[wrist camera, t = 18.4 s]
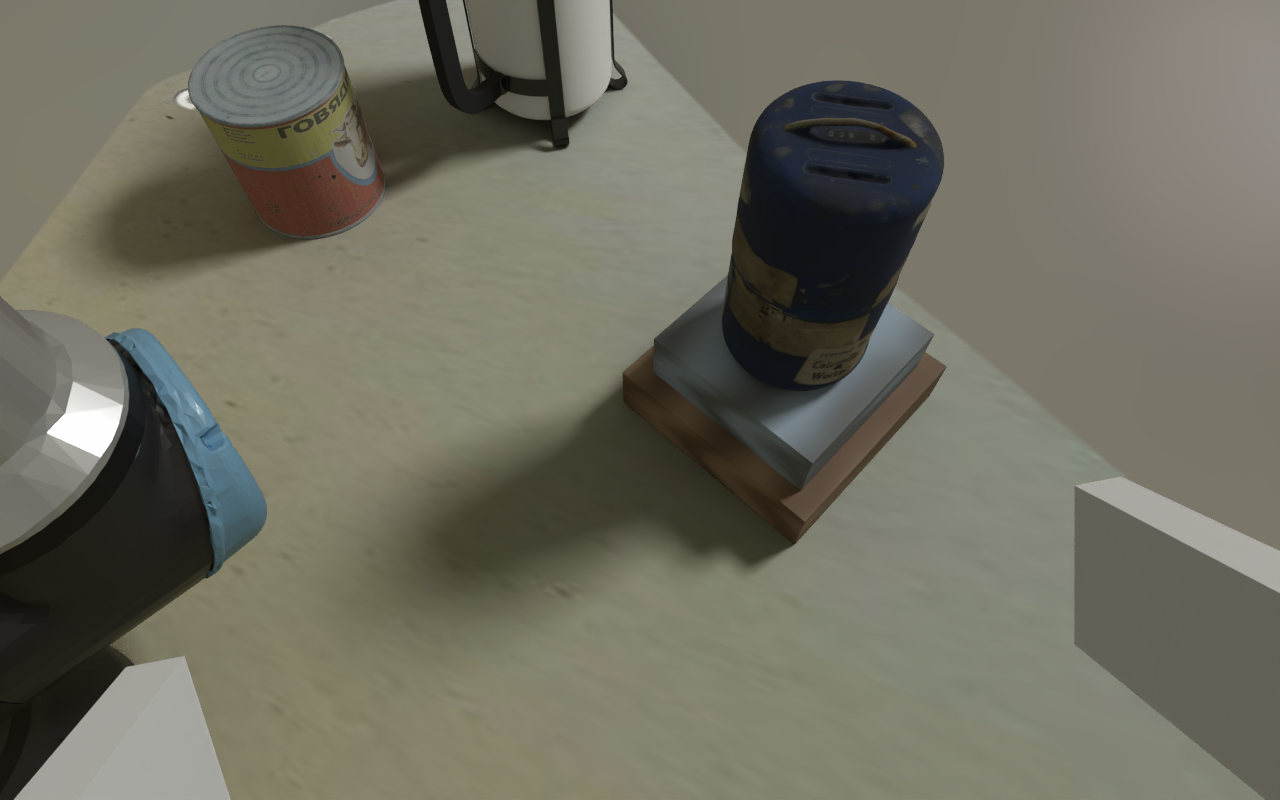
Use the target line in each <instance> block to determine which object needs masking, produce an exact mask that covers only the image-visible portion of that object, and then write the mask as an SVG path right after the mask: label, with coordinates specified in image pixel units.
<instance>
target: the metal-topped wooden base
mask: <svg viewBox="0 0 1280 800" xmlns="http://www.w3.org/2000/svg"><path fill="white" fill-rule="evenodd" d="M727 279H728V275H727V276H726V277H725V278H724V279H723V280H722V281H721V282H719V283H718V284H717V285H716V286H715V287H714V288H712V289H711V290H710V291H709V292H708V293H707V294H706V295H704V296H703V297H702V298H701V299H700V300H699V301H697V302H696V303H695V304H694V305H693V306H692V307H691V308H689V309H688V310H687V311H686V312H685V313H684V314H682V315H681V316H680V317H679V318H678V319H677V320H676V321H674V322H673V323H672V324H671V325H670V326H669V327H667V328H666V329H665V330H664V331H663V332H662V333H661V334H659V335H658V336H657V337H656V338H655V339H654V346H653V347H651V348H650V349H649V350H648V351H647V352H646V353H645V354H643V355H642V356H641V357H640V358H639V359H638V360H637V361H635V362H634V363H633V364H632V365H631V366H630V367H628V368H627V369H626V370H625V371H624V372H623V394H624V402H625V403H626V404H627V405H629V406H630V407H631V408H632V409H633V410H634V411H636V412H637V413H638V414H639V415H640V416H642V417H643V418H644V419H645V420H646V421H648V422H649V423H650V424H651V425H652V426H654V427H655V428H656V429H657V430H658V431H660V432H661V433H662V434H663V435H664V436H666V437H667V438H668V439H669V440H670V441H672V442H673V443H674V444H675V445H676V446H678V447H679V448H680V449H681V450H682V451H684V452H685V453H686V454H687V455H688V456H690V457H691V458H692V459H693V460H694V461H695V462H697V463H698V464H699V465H700V466H701V467H703V468H704V469H705V470H706V471H707V472H709V473H710V474H711V475H712V476H713V477H715V478H716V479H717V480H718V481H719V482H721V483H722V484H723V485H724V486H725V487H727V488H728V489H729V490H730V491H731V492H733V493H734V494H735V495H736V496H737V497H739V498H740V499H741V500H742V501H743V502H745V503H746V504H747V505H748V506H749V507H750V508H752V509H753V510H754V511H755V512H756V513H758V514H759V515H760V516H761V517H762V518H764V519H765V520H766V521H767V522H768V523H770V524H771V525H772V526H773V527H774V528H776V529H777V530H778V531H779V532H780V533H782V534H783V535H784V536H785V537H786V538H788V539H789V540H790V541H791V542H792V543H794V544H796V542H797V541H798V540H799V539H800V538H801V537H802V536H803V535H804V534H805V533H806V531H807V530H808V529H809V528H810V527H811V526H812V525H813V524H814V523H815V521H816V520H817V519H818V518H819V517H820V516H821V515H822V514H823V513H824V512H825V510H826V509H827V508H828V507H829V506H830V505H831V504H832V503H833V502H834V501H835V499H836V498H837V497H838V496H839V495H840V494H841V493H842V492H843V491H844V489H845V488H846V487H847V486H848V485H849V484H850V483H851V482H852V481H853V480H854V478H855V477H856V476H857V475H858V474H859V473H860V472H861V471H862V470H863V469H864V467H865V466H866V465H867V464H868V463H869V462H870V461H871V460H872V459H873V457H874V456H875V455H876V454H877V453H878V452H879V451H880V450H881V449H882V448H883V446H884V445H885V444H886V443H887V442H888V441H889V440H890V439H891V438H892V437H893V435H894V434H895V433H896V432H897V431H898V430H899V429H900V428H901V427H902V425H903V424H904V423H905V422H906V421H907V420H908V419H909V418H910V417H911V416H912V414H913V413H914V412H915V411H916V410H917V409H918V408H919V407H920V406H921V405H922V403H923V402H924V401H925V400H926V399H927V398H928V397H929V396H930V394H931V392H932V391H933V389H934V387H935V386H936V384H937V382H938V381H939V379H940V377H941V376H942V374H943V372H944V371H945V369H946V366H945V365H943V364H942V363H940V362H939V361H938V360H936V359H935V358H933V357H932V356H930V355H929V354H927V353H926V352H925V351H926V349H927V347H928V345H929V343H930V341H931V340H932V338H933V336H934V334H933V333H932V332H930V331H929V330H927V329H926V328H924V327H923V326H921V325H920V324H918V323H917V322H915V321H914V320H912V319H911V318H909V317H908V316H906V315H905V314H903V313H902V312H900V311H899V310H897V309H896V308H894V307H893V306H891V305H890V304H888V303H887V305H886V307H885V309H884V311H883V313H882V315H881V317H880V319H879V321H878V323H877V325H876V328H875V330H874V331H873V333H872V335H871V337H870V340H869V343H868V347H867V349H866V352H865V354H864V356H863V358H862V360H861V361H860V363H859V364H858V365H857V366H856V368H855V369H854V370H853V371H852V372H851V373H850V374H848V375H847V376H846V377H845V378H843V379H841V380H840V381H838V382H836V383H834V384H832V385H830V386H827V387H824V388H820V389H816V390H810V391H793V390H785V389H781V388H777V387H774V386H771V385H768V384H766V383H764V382H762V381H760V380H758V379H757V378H755V377H753V376H752V375H750V374H749V373H748V372H746V371H745V370H744V369H743V368H742V367H741V366H740V365H739V364H738V363H737V361H736V360H735V359H734V357H733V356H732V354H731V353H730V351H729V349H728V347H727V345H726V342H725V339H724V336H723V330H722V312H723V304H724V298H725V292H726V286H727Z"/></svg>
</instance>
